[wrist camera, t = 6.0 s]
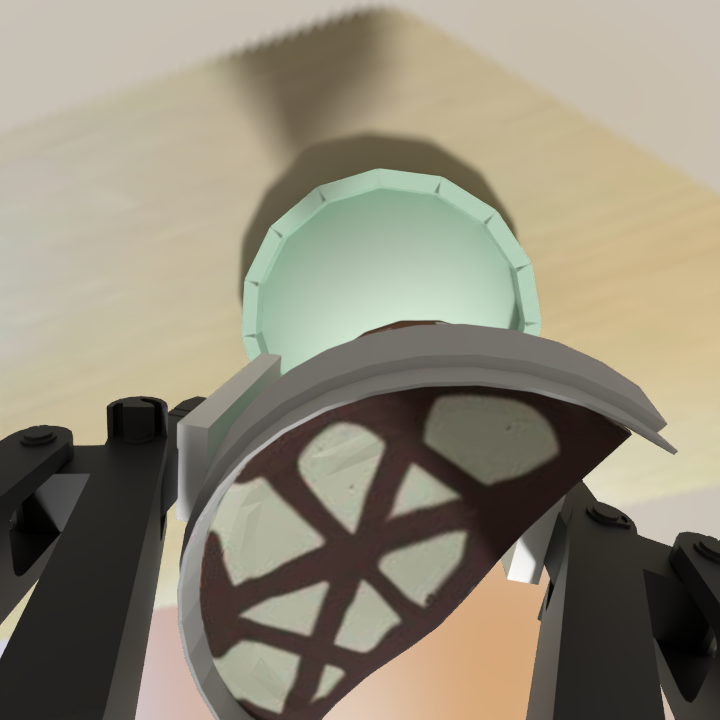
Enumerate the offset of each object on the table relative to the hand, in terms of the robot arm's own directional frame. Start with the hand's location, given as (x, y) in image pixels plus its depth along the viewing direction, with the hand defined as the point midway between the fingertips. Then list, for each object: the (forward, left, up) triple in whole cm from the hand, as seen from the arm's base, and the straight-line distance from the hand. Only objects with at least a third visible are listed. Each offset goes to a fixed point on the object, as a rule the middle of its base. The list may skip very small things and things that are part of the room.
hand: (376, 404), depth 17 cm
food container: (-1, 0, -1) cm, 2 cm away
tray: (0, 0, -16) cm, 16 cm away
